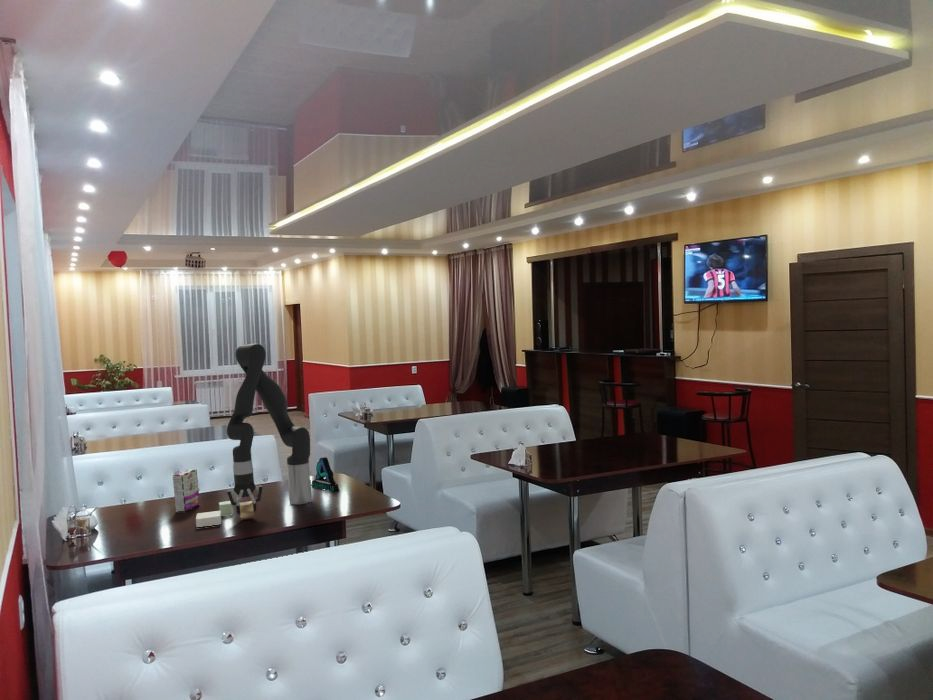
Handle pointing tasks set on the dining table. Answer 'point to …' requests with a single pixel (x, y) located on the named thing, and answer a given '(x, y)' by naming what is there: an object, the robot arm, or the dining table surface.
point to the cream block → (208, 518)
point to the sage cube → (225, 508)
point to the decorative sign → (324, 476)
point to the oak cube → (246, 509)
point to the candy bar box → (186, 490)
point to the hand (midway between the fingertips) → (246, 513)
